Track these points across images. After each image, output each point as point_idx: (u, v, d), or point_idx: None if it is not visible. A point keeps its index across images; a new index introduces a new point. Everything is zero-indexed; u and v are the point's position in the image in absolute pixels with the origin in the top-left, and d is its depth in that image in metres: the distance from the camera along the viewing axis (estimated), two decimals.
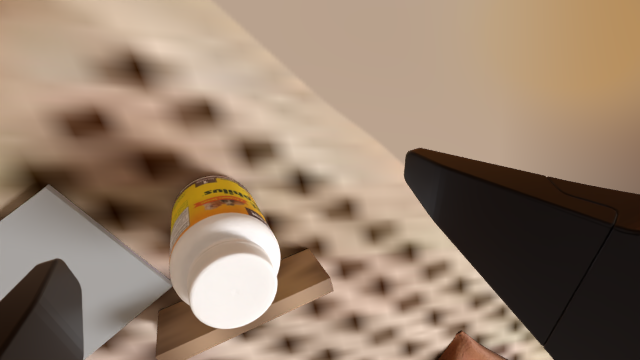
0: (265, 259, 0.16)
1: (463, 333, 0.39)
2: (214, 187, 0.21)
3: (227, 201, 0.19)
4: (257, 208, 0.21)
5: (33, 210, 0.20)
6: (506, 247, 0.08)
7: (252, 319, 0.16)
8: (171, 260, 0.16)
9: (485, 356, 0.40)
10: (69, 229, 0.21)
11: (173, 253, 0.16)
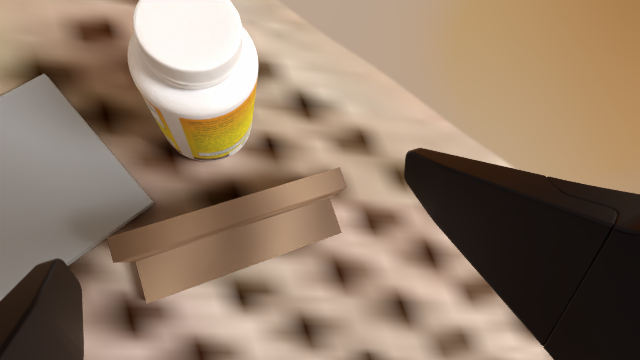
0: None
1: None
2: None
3: None
4: None
5: (26, 93, 0.20)
6: (506, 247, 0.08)
7: (209, 63, 0.13)
8: None
9: None
10: (55, 117, 0.20)
11: None
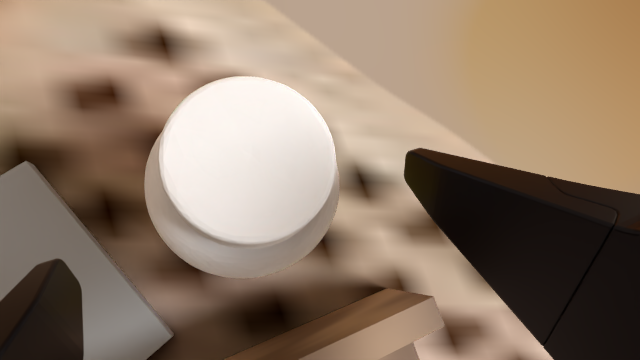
0: None
1: None
2: None
3: None
4: None
5: (1, 191, 0.14)
6: (506, 247, 0.08)
7: (288, 226, 0.07)
8: (150, 153, 0.09)
9: None
10: (39, 223, 0.15)
11: (155, 142, 0.10)
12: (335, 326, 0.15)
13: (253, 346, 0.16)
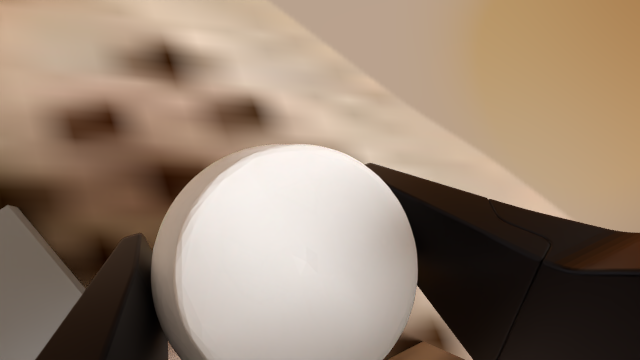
0: (377, 177, 0.06)
1: None
2: None
3: None
4: None
5: None
6: (448, 273, 0.07)
7: None
8: (158, 232, 0.07)
9: None
10: (23, 280, 0.12)
11: (165, 216, 0.07)
12: None
13: None
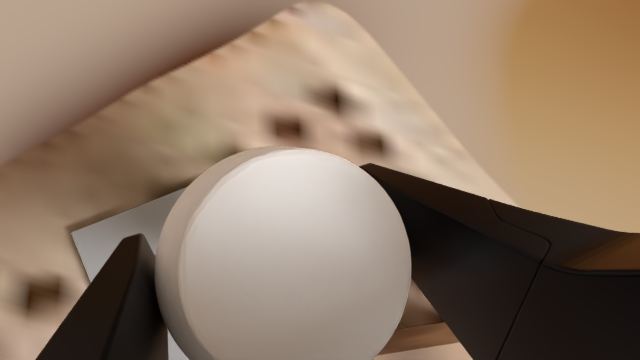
0: (373, 180, 0.06)
1: None
2: None
3: None
4: None
5: None
6: (447, 273, 0.07)
7: None
8: (161, 232, 0.07)
9: None
10: None
11: (167, 217, 0.07)
12: (425, 336, 0.20)
13: None
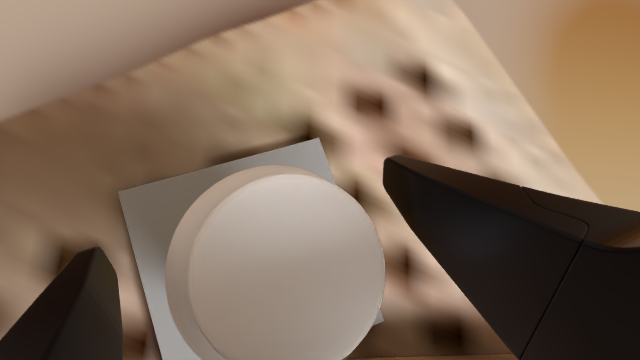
0: (352, 199, 0.07)
1: None
2: None
3: None
4: None
5: (297, 154, 0.18)
6: (480, 259, 0.08)
7: (337, 354, 0.07)
8: (170, 244, 0.08)
9: None
10: None
11: (176, 230, 0.09)
12: None
13: (434, 356, 0.18)
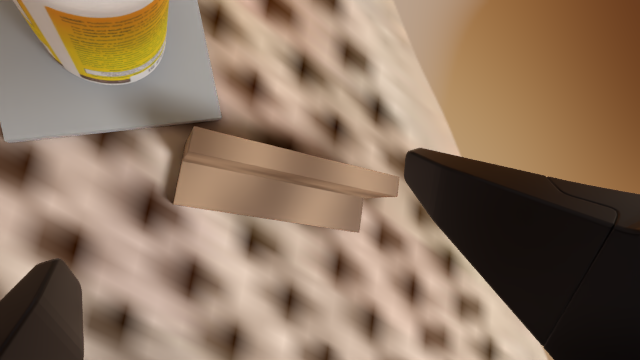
0: None
1: None
2: None
3: None
4: None
5: None
6: (506, 247, 0.08)
7: None
8: None
9: None
10: None
11: None
12: None
13: None
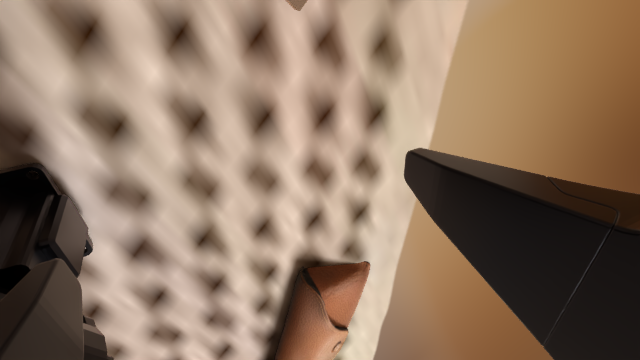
0: None
1: (369, 267, 0.34)
2: None
3: None
4: None
5: None
6: (506, 247, 0.08)
7: None
8: None
9: (356, 306, 0.35)
10: None
11: None
12: None
13: None
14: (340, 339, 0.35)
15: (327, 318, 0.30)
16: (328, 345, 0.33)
